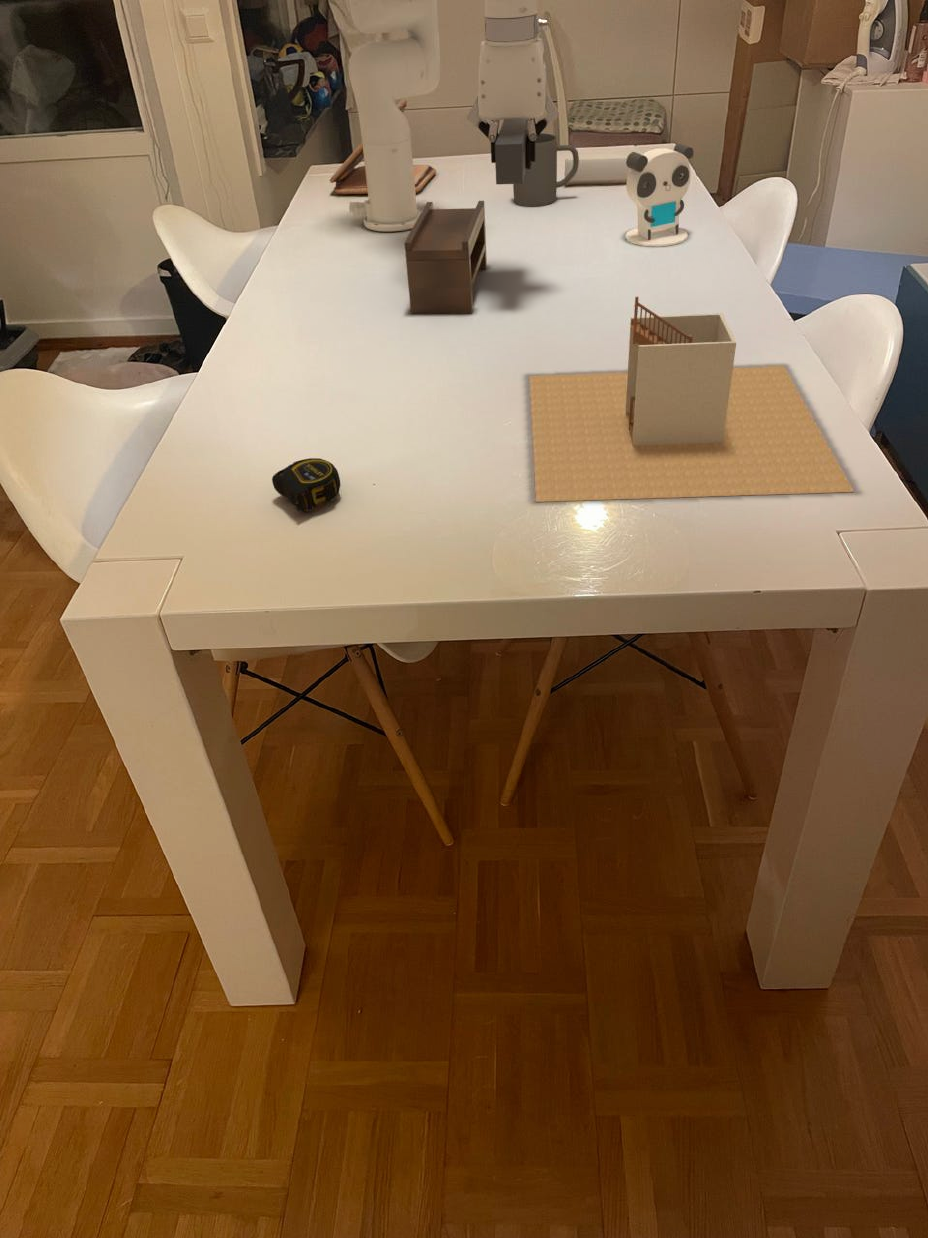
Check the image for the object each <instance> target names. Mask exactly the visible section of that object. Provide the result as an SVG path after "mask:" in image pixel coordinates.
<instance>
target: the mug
mask: <svg viewBox="0 0 928 1238" xmlns="http://www.w3.org/2000/svg"><path fill="white" fill-rule="evenodd" d="M568 151H569V152H570V153H571V154H572V160H573V168H572V170H571V171H570V173H569V174H568V175H567V176H566V177H565V176H564V178H563V179H561V180H559V181H558V152H568ZM579 160H580V157H579V152H578V149H577V148H576V147H575V146H574V145H570V144H558V140H557V136H556V135H554V134H552V133H542V132H541V133H540V134H539V135H538V137H537V138H536V139H535V162H531V168H530V169H527V168H526V172H525V176H524V180H523V184H512V187H513V188H512V189H513V200H514V203H515V204H517V205H519V206H524V207H541V206H542V207H543V206H547V205H551V204H552V203H554V202H556V200H557V189H559V188H561V187H564V186H565V184H567V183H568V182H569V181H570V180H571V179H572V178H573V176H574V175H575V174H576V172H577V169H578V164H579Z"/></svg>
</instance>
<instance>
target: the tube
mask: <svg viewBox="0 0 928 1238" xmlns="http://www.w3.org/2000/svg"><path fill="white" fill-rule="evenodd" d="M626 161H627V157H625V158H623V157H622V158H589V159H587V158H586V159H579V164H578V169H577V172H576V174H575V175H574V176H573V178H572V179H571V180H570V181H569V182H568V183H567V184H565V185H564V186H566V187H567V186H569V185H603V184H604V185H605V184H608V185H609V184H627V179H628V175H629V173H630V170H631V168H629V167H627V165H626ZM572 168H573V159H569V158H565V159H564V178H565V177H566V176H567V175H568V174H569V173H570V171H571V170H572Z"/></svg>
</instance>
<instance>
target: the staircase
mask: <svg viewBox="0 0 928 1238" xmlns="http://www.w3.org/2000/svg"><path fill="white" fill-rule="evenodd" d="M639 308H640V314H639V316H638V313H639ZM643 311H644V316H643ZM647 314H649V316H647ZM629 325H630V326H629V341H628V343H629V344H628V360H627V375H626V392H625V409H624V413H625V414H628V429H629V431H630V435H631V444H632V445H633V446H645V445H673V444H679V445H680V444H700V443H706V444H708V443H723V442H724V438H725V430H726V423H727V416H728V408H729V401H730V393H731V386H732V379H733V371H734V368H735V367H734V364H735V356H736V348H737V341H736V339H735V337H734V334H733V332H732V331H731V328H730V326H729V325H728V322H727V320H726V318H725V316H724V314H723V312H720V313H719V312H718V313H699V314H698V313H697V314H695V313H694V314H676V315H675V314H674V315H673V314H672V315H658V314H656V313H655V312H653V311H652V310H650V309H649V308H648V307H645V306H644V305H643V304H641V303H640V302H639V296H635V298H634V313H633V316H632V317H630V323H629Z"/></svg>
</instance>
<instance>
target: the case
mask: <svg viewBox="0 0 928 1238" xmlns="http://www.w3.org/2000/svg"><path fill="white" fill-rule="evenodd" d="M407 103H408V99H407V98H402V99H401V100H400V101H399V102H398V103H396V105H397V107H398V108H399V109H400V110H401V112H402V113H403V114H404V113H405V110H406V108H407ZM363 160H364V154H363V145H362V141H361V142H360V143H359V144H358V146H356V148H355V149H354V150H353V152H352V153H351V154H350V155H349V156H348V157H347V159H346V160H345V161H344V162H343V163H342V164H341V165H340V166H339V168H338V169H337V170H336V171H335V172H334V174H332V176H331V177H330V179H329V183H331V184H334V183H335V187H334V188H333V192H334V193H335V194H336V195H337V194H338V195H357V194H358V195H362V194H364V195H366V194H367V195H368V188H367V180H366V171H365V165H362V166H358V165H359V164H361V162H362V161H363ZM357 166H358V167H357ZM413 169H414V181H415V192H416V193H418V192H420V191H421V190H423V188H424V187H425V186H426V185H427V184H428V182H429V181H430V180H431V179H433V177H434V176H435V175H436V173H437V169H436V168H435V167H433V166H431V165H428V164H413Z"/></svg>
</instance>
